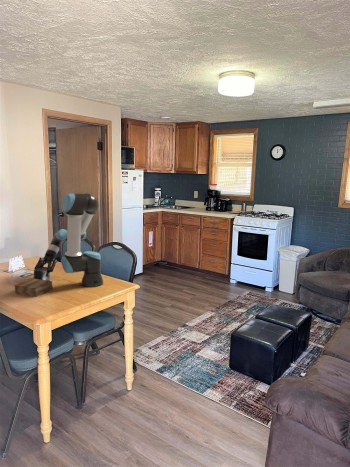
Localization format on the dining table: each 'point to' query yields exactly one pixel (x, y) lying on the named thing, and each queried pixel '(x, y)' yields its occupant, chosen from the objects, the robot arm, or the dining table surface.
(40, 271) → the small box
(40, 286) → the walnut block
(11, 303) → the dining table surface
